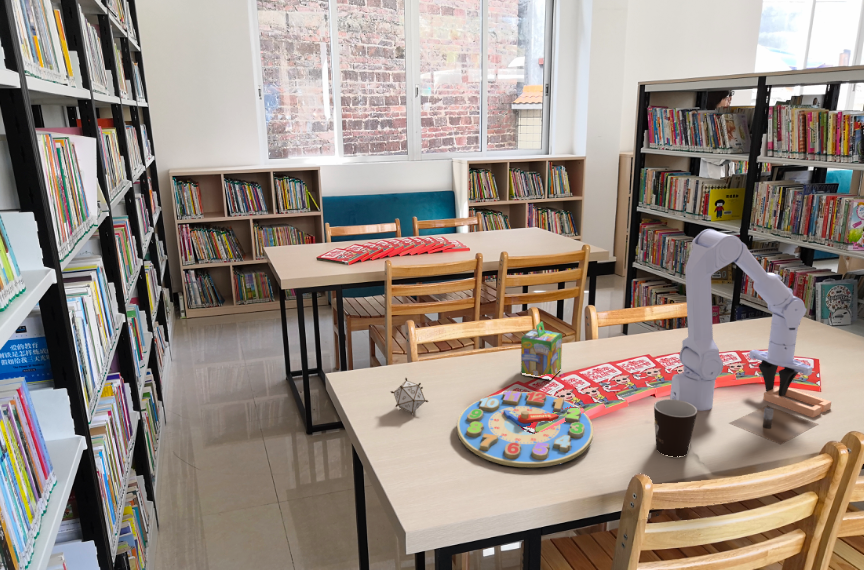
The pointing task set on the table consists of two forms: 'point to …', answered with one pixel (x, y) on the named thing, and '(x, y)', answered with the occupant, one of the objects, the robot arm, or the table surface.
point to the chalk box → (541, 352)
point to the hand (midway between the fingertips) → (775, 392)
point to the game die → (409, 396)
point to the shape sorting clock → (510, 445)
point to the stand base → (774, 425)
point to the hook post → (768, 417)
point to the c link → (818, 403)
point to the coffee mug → (673, 426)
